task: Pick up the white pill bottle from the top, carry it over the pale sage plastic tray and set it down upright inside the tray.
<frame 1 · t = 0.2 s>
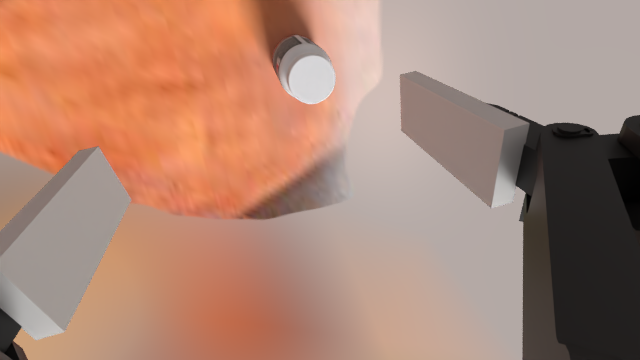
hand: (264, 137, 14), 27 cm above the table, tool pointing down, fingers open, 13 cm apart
pill bottle: (295, 59, 39), on the table
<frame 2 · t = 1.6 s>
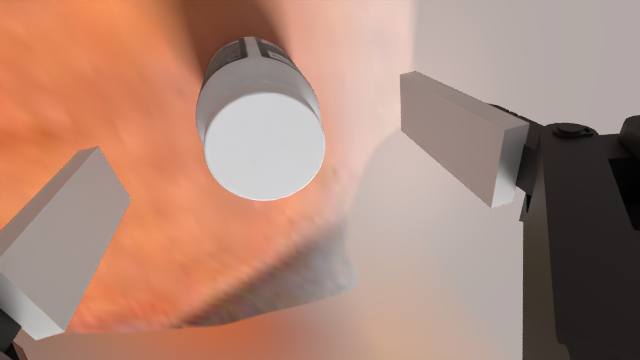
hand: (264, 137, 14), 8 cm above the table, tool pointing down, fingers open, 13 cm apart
pill bottle: (253, 82, 20), on the table
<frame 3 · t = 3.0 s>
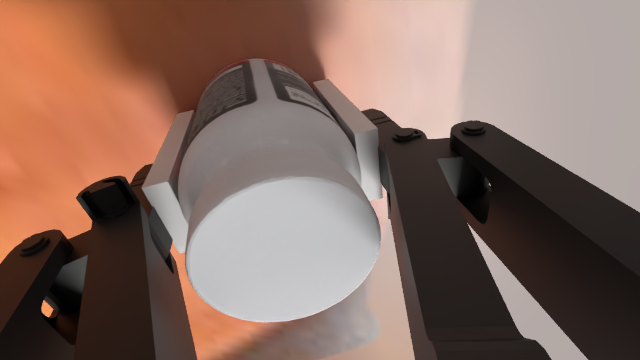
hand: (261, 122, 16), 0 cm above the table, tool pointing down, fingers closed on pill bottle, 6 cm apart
pill bottle: (260, 114, 16), on the table, touching gripper
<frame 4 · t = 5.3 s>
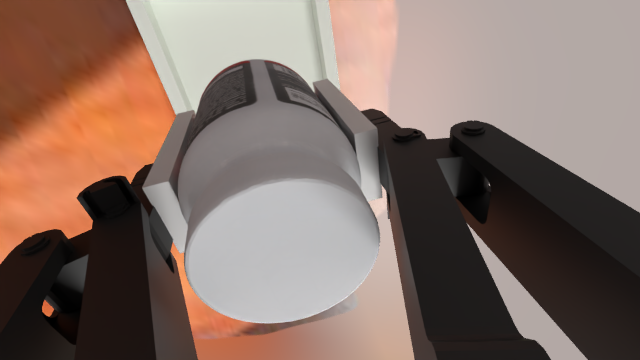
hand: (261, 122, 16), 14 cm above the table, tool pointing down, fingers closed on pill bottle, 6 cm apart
pill bottle: (260, 115, 16), point 14 cm above the table, touching gripper
tray: (251, 64, 28), on the table
when the fingers open (2 cm above the table, at t = 7.8 s): pill bottle drops 1 cm, resting on tray.
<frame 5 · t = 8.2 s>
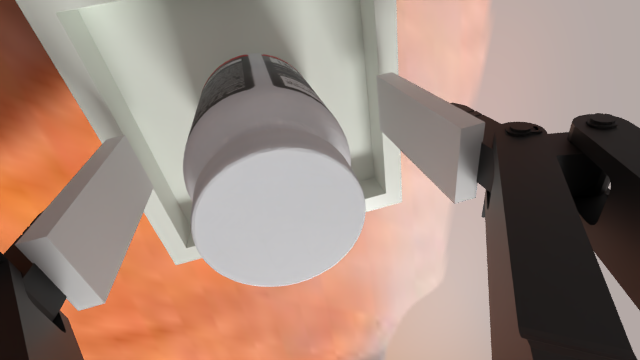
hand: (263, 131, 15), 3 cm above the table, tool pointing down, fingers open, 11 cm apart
pill bottle: (258, 107, 17), resting on tray
tray: (259, 109, 17), on the table
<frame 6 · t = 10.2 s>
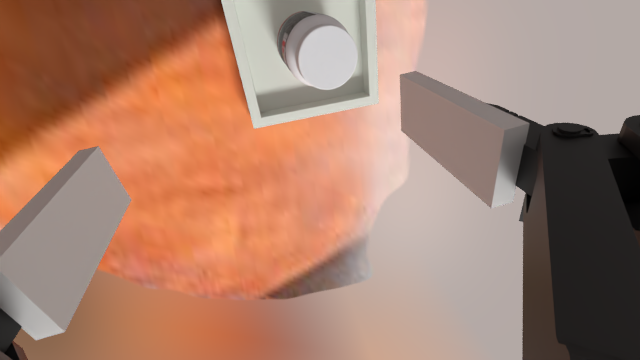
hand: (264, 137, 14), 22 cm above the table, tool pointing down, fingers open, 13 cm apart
pill bottle: (304, 42, 32), resting on tray
tray: (303, 44, 33), on the table
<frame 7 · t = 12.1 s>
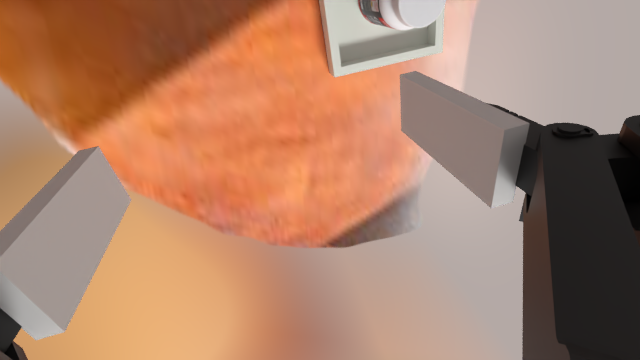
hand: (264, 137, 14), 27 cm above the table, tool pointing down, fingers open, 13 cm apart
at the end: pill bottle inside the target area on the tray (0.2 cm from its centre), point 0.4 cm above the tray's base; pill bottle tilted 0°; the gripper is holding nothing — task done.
